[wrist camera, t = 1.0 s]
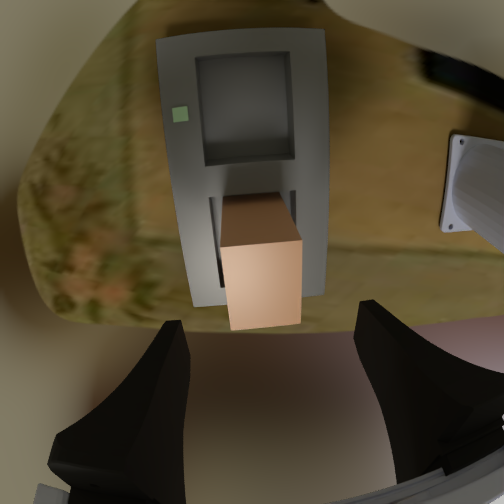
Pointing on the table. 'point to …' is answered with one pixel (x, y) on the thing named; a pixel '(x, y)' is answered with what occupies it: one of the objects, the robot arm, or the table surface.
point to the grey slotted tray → (246, 139)
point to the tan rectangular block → (260, 261)
